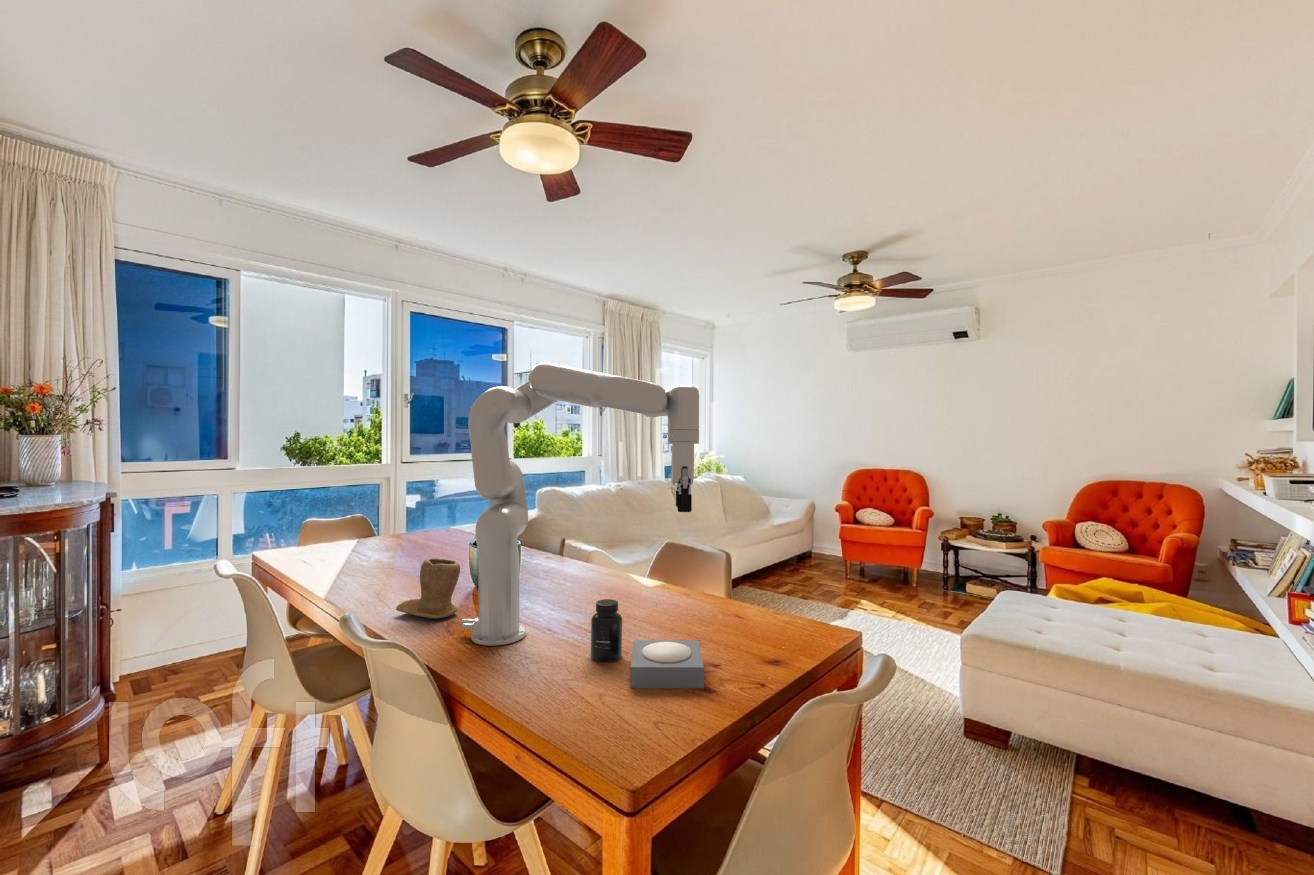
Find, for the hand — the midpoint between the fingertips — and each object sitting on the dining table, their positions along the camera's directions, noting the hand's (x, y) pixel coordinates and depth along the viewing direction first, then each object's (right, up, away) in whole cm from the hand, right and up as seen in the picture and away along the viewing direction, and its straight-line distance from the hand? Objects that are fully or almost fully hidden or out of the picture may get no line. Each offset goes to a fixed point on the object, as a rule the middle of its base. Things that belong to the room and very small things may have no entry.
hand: (683, 509), depth 131 cm
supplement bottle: (-17, -31, -12) cm, 37 cm away
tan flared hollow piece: (-67, -31, +17) cm, 76 cm away
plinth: (-4, -31, -20) cm, 37 cm away
